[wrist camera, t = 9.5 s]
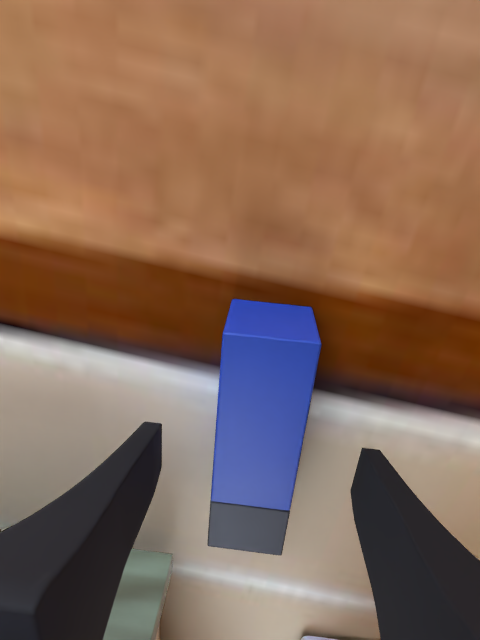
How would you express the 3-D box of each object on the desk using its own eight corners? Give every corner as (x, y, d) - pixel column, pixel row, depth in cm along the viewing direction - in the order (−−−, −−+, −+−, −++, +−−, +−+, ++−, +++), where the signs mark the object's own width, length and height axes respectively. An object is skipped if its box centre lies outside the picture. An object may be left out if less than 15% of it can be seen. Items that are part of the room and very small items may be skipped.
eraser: (232, 297, 14) (222, 332, 12) (312, 306, 14) (322, 343, 11) (217, 487, 18) (207, 546, 15) (280, 495, 18) (281, 556, 15)
